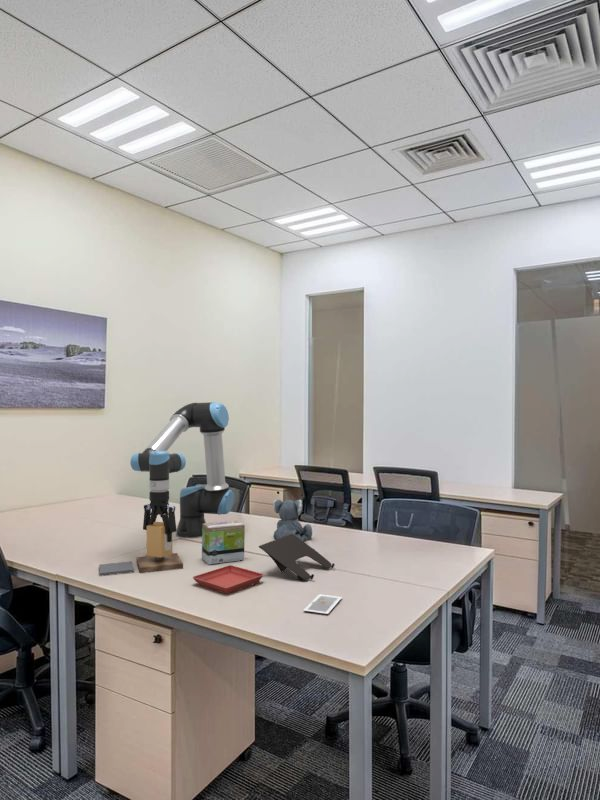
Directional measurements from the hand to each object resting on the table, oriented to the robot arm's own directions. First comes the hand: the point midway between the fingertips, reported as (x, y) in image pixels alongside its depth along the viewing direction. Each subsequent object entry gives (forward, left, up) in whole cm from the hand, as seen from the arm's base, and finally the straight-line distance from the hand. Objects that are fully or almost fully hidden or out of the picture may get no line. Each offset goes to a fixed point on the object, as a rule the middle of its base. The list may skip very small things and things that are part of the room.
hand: (159, 548), depth 212 cm
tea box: (-25, +2, -7) cm, 26 cm away
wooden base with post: (0, 0, -6) cm, 6 cm away
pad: (+16, 0, -6) cm, 17 cm away
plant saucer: (-20, +32, -7) cm, 38 cm away
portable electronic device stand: (-48, +28, -7) cm, 56 cm away
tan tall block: (0, 0, -2) cm, 2 cm away
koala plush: (-61, -18, -7) cm, 64 cm away
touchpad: (-42, +64, -7) cm, 77 cm away
